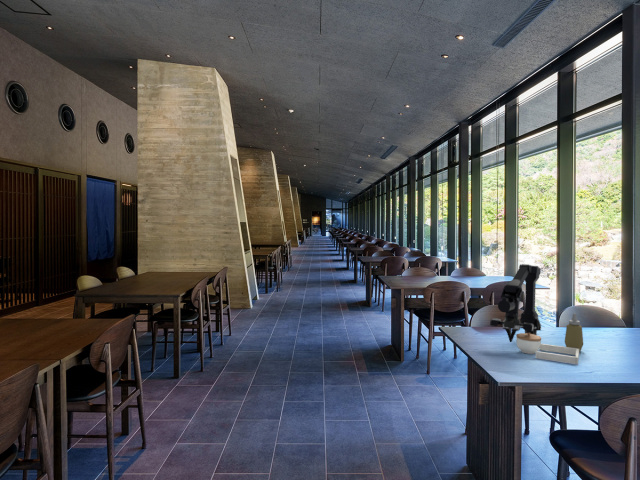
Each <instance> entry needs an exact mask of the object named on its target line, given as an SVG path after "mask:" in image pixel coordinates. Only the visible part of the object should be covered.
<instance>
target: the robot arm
mask: <svg viewBox="0 0 640 480" xmlns="http://www.w3.org/2000/svg"><path fill="white" fill-rule="evenodd" d="M541 270H542V269H541V268H540V267H539V266H538V265H531V264H530V263H529V264H528V263H527V264H525V263H521V264H519V266H518V270H517V271H516V273H515V275H514V276H513V277H512V279H511V280H510V281H509V280H508V281H507V282H506V284H505V285H504V286H503V289H502V291H501V295H500V298H501V300H500V301H499V302H498V304H497V309H498V310H499V311H500V312H501V313H505V315H504V318H503V320H501V319H500V318H496V317H493V318H492V319H490V322H489V323H490V324H489V325H490V326H493V327H498V326H499V325H500V326H502V330H505V331H506V335H507V336H508V341H509V343H512V342H513V341H514V340H513V339H514V337H515V335H516V334H517V332H519V331H520V330H521V329H523V330H524V333H527V334H528V332H529V333H530V334H534V335H537V336H538V333H537V332H538V331H542V324H541V322H540V319H539V314H538V313H537V311H536V284H537V282H538V280H539V278H540V275H541V273H542V271H541ZM524 282H525V293H524V294H525V296H524V310H523V312H522V313H519V309H520V301H521V297H522V295H523V284H524ZM519 314H520V317H519Z"/></svg>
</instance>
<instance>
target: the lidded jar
mask: <svg viewBox="0 0 640 480" xmlns="http://www.w3.org/2000/svg"><path fill="white" fill-rule="evenodd" d="M515 335H516V336H515V337H516V340H515V341H516V345H517V348H518V349H519V350H520V352H521V353H524V354H527V355H528V354H529V355H533V354H534V355H536V351H540V345H541V344H542V336H540V335H538V334H537V335H534V334H530V333H529V332H528V334H527V333H525V332H524V333H523V332H519V333H516V334H515Z"/></svg>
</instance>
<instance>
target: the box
mask: <svg viewBox="0 0 640 480" xmlns="http://www.w3.org/2000/svg"><path fill="white" fill-rule="evenodd" d="M571 355H572V356H571ZM535 359H538V360H546V361H552V362H559V363H566V364H572V365H577V366H578V364H579V359H580V351H579V349H577V348H570V347H566V346H563V345H562V346H561V345H553V344H547V343H541V345H540V348H539V350H538V351H536V352H535Z"/></svg>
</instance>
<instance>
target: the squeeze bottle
mask: <svg viewBox="0 0 640 480" xmlns="http://www.w3.org/2000/svg"><path fill="white" fill-rule="evenodd" d="M564 344H565V347H570V348H577V349H579V352H581V351H582V350H583V349H582V348H583V346H584V334H583V327H582V325H581V322H580V320H578V317H577V313H576V312H573V313H572V317H571V319H569V320H568V324H566V329H565V336H564Z"/></svg>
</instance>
